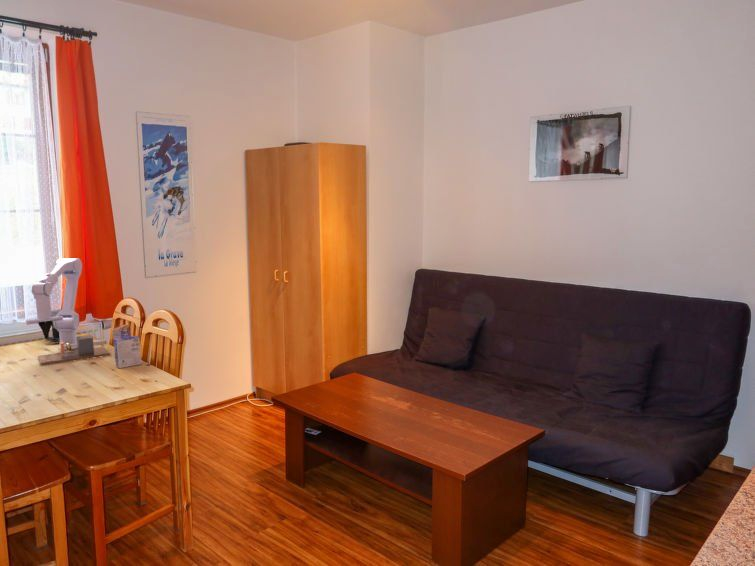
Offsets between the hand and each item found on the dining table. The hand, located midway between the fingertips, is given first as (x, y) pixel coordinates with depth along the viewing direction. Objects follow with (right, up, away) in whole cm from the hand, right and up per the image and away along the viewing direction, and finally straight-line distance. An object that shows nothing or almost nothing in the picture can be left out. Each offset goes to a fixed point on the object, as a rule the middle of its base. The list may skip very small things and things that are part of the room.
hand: (46, 338), depth 272 cm
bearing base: (+11, -9, +3) cm, 15 cm away
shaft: (+15, -6, +5) cm, 17 cm away
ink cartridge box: (+42, -11, -11) cm, 45 cm away
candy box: (+37, -10, -3) cm, 38 cm away
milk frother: (-12, -5, +34) cm, 37 cm away
